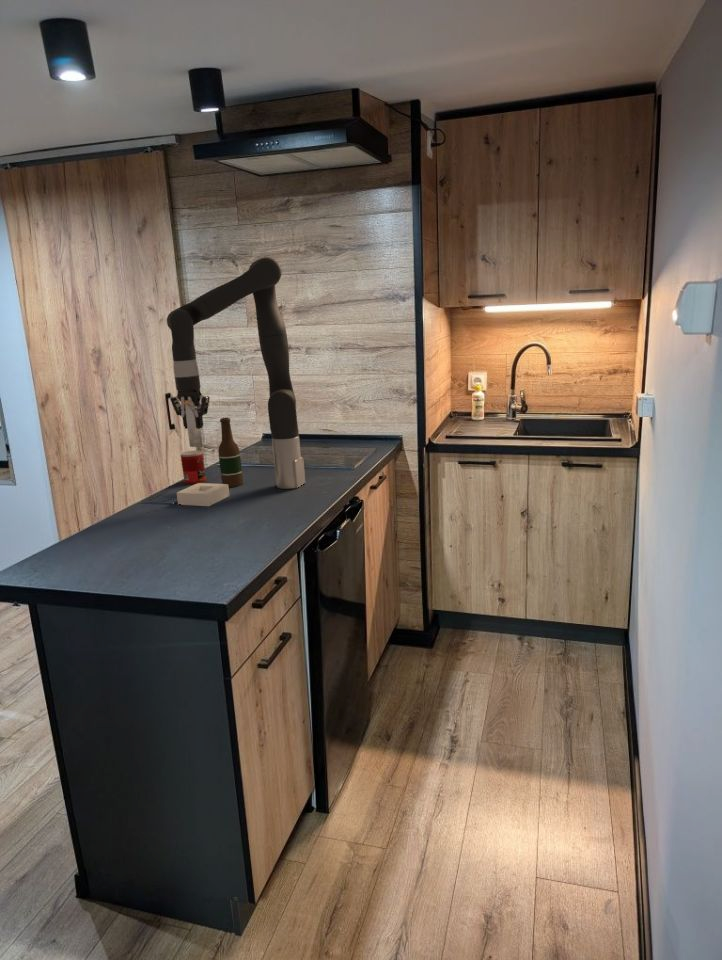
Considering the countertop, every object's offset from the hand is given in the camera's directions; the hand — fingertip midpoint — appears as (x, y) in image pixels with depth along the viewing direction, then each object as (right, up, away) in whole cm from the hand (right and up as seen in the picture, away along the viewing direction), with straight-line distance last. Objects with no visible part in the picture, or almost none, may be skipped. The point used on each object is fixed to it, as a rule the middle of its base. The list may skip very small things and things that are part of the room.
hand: (193, 428), depth 217 cm
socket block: (+2, -23, +6) cm, 24 cm away
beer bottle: (+8, -19, +24) cm, 31 cm away
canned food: (-7, -18, +32) cm, 37 cm away
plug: (0, -6, +1) cm, 6 cm away
